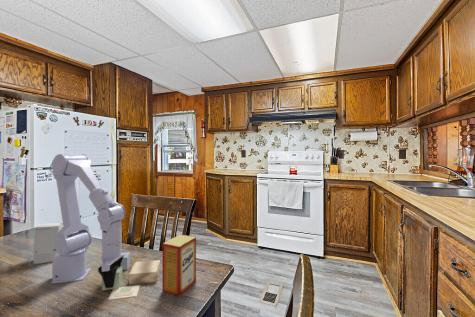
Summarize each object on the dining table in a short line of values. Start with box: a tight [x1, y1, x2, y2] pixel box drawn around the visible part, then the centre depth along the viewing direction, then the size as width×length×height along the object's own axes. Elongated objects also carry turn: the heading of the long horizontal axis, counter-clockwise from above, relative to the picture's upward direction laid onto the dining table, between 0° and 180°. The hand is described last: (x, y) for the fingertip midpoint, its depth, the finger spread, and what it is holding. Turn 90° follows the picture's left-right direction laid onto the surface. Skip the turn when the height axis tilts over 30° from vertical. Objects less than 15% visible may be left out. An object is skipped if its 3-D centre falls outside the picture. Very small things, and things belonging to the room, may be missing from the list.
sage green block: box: [101, 267, 123, 291], centre depth 78 cm, size 5×5×5 cm
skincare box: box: [32, 222, 63, 265], centre depth 96 cm, size 8×6×15 cm
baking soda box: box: [161, 234, 197, 297], centre depth 78 cm, size 10×6×16 cm
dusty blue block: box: [120, 251, 131, 271], centre depth 90 cm, size 5×5×5 cm
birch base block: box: [128, 259, 161, 285], centre depth 84 cm, size 9×9×4 cm
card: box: [108, 284, 141, 301], centre depth 74 cm, size 8×6×1 cm
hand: (112, 282), depth 78 cm, fingers open, 5 cm apart
